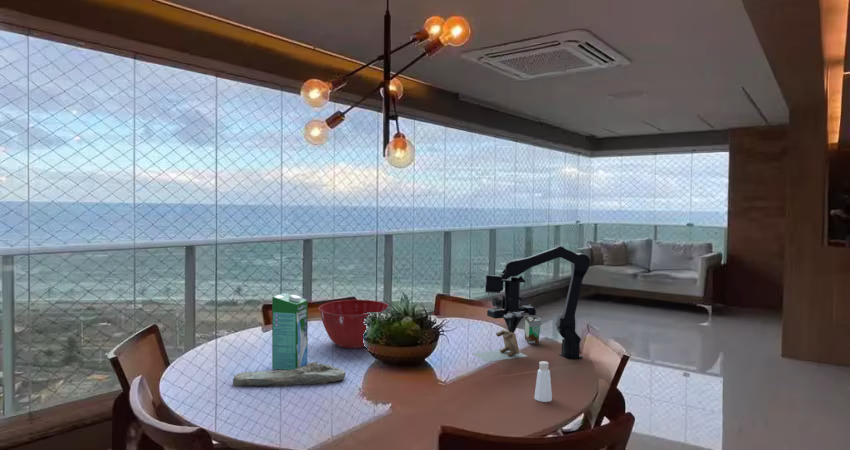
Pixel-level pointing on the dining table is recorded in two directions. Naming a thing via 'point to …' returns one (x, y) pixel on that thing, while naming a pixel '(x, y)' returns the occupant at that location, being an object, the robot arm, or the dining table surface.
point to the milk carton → (289, 331)
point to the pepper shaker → (543, 383)
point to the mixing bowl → (348, 320)
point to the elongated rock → (291, 376)
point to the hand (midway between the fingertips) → (511, 334)
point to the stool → (509, 342)
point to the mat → (496, 355)
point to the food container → (532, 329)
